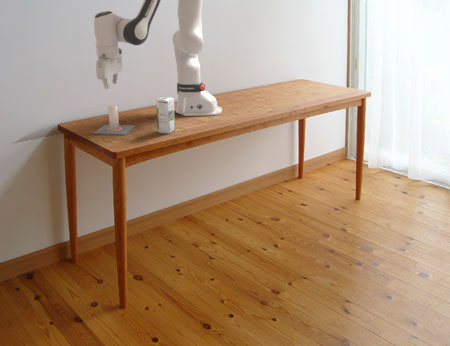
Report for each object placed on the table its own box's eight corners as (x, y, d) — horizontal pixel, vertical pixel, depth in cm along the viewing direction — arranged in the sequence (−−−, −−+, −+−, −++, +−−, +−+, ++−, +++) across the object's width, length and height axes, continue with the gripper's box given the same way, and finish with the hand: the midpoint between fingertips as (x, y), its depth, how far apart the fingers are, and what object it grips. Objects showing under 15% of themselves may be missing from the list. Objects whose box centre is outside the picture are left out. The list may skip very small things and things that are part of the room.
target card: (135, 127, 243) (134, 125, 243) (125, 135, 231) (124, 133, 231) (105, 126, 245) (105, 124, 245) (93, 134, 233) (93, 132, 233)
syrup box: (163, 129, 239) (161, 96, 234) (175, 130, 237) (174, 97, 232) (157, 132, 234) (155, 99, 229) (169, 134, 232) (167, 100, 227)
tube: (120, 127, 240) (118, 105, 236) (117, 130, 236) (115, 107, 232) (111, 127, 240) (110, 105, 237) (108, 130, 237) (106, 107, 233)
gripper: (105, 56, 217) (109, 91, 221) (123, 49, 235) (126, 81, 240) (90, 56, 218) (94, 91, 223) (109, 49, 236) (112, 81, 241)
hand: (111, 85), depth 232 cm, fingers open, 8 cm apart
